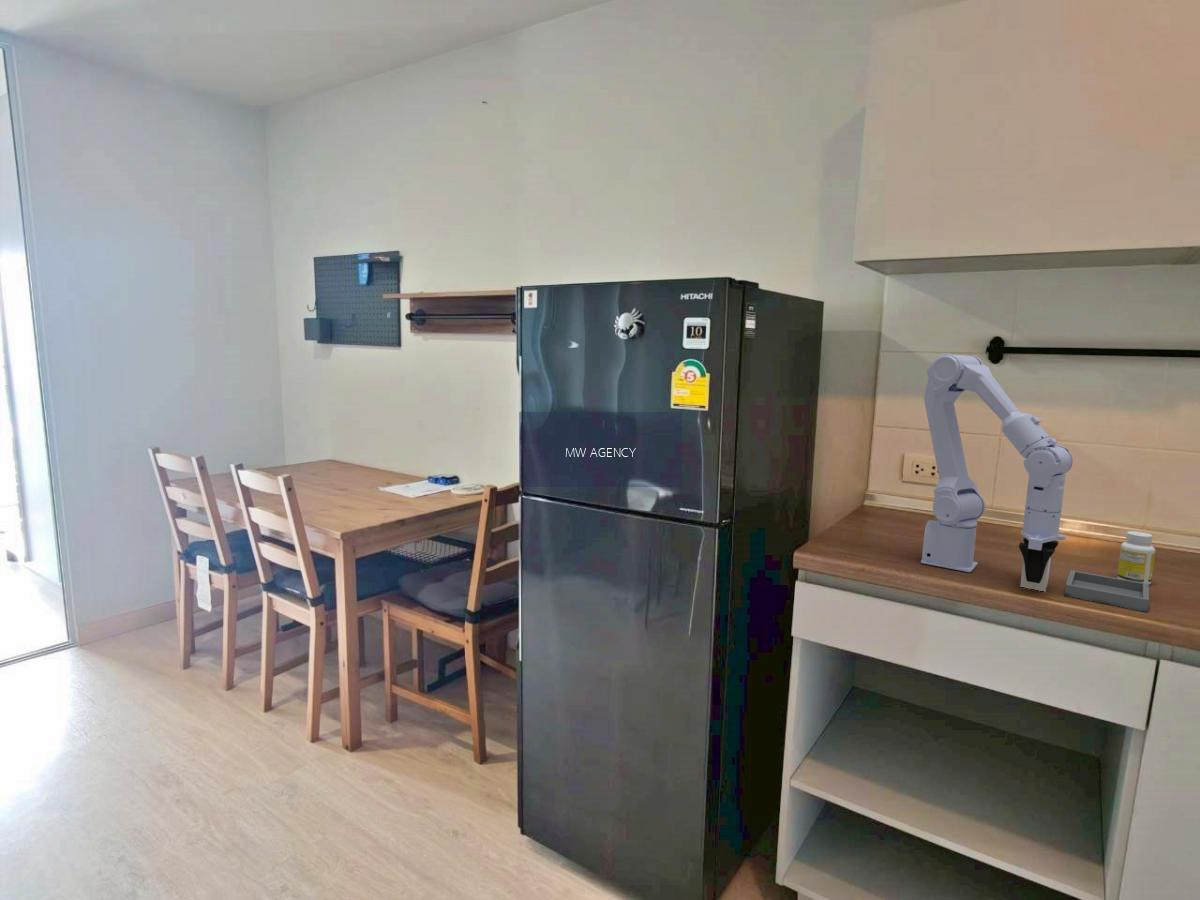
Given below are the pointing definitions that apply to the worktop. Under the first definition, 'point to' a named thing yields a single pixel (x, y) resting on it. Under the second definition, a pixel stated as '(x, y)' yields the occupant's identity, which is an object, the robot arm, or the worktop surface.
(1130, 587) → the tray
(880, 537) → the worktop surface
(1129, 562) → the supplement bottle
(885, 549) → the worktop surface
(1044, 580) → the light grey tall block
